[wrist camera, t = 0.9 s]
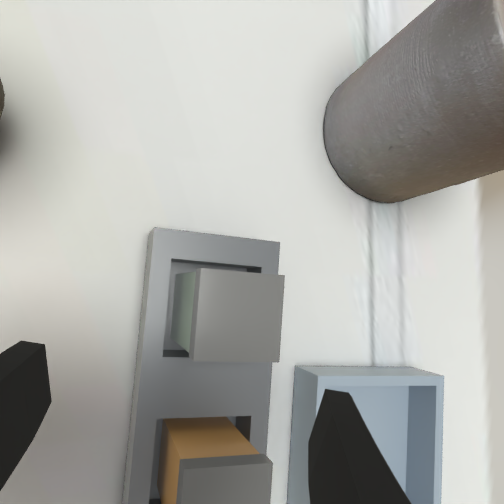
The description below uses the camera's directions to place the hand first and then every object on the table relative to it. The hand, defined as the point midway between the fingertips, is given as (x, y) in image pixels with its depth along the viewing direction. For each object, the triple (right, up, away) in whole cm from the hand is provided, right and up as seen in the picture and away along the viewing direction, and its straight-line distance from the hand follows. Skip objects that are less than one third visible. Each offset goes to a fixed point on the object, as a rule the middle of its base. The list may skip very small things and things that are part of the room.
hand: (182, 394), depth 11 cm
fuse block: (-2, -4, +13) cm, 14 cm away
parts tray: (+8, -10, +17) cm, 21 cm away
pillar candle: (+11, +12, +19) cm, 25 cm away
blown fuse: (-2, -7, +13) cm, 15 cm away
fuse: (-1, 0, +13) cm, 13 cm away
